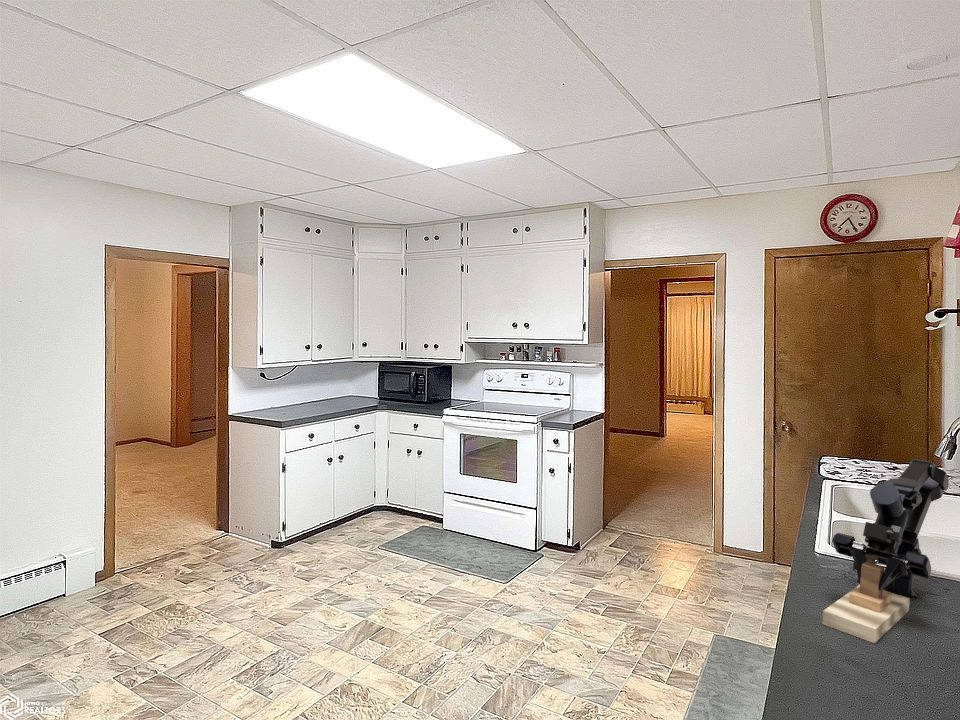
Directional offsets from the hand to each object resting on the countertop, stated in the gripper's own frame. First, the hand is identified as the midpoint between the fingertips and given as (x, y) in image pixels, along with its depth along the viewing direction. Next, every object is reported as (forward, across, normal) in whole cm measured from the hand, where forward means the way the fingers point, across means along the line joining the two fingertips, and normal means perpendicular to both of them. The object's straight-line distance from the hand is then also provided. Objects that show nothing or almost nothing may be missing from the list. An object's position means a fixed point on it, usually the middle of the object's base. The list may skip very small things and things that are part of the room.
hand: (869, 586), depth 136 cm
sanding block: (+2, 0, +4) cm, 4 cm away
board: (+5, 0, +5) cm, 7 cm away
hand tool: (-21, -11, +32) cm, 40 cm away
